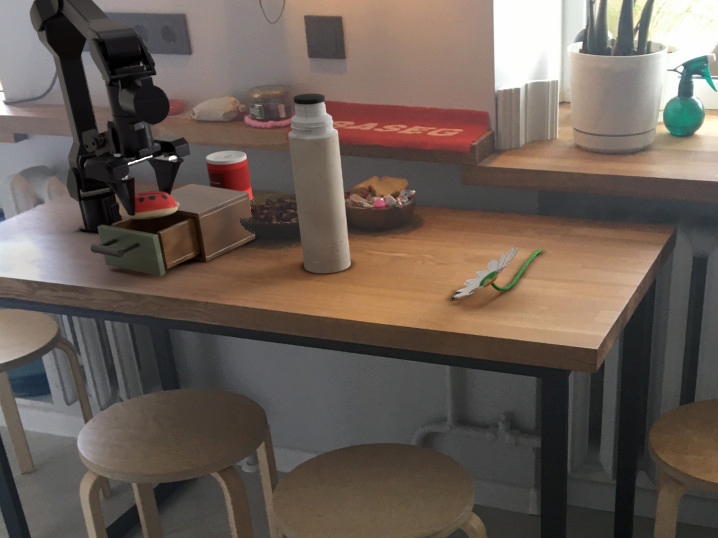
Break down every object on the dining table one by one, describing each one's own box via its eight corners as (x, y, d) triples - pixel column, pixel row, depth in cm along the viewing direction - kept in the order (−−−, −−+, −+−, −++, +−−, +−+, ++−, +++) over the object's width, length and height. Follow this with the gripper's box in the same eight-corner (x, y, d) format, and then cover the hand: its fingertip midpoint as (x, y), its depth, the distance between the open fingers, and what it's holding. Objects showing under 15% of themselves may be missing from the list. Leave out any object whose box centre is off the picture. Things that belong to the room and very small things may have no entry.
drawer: (138, 286, 166) (129, 246, 162) (83, 275, 171) (73, 235, 167) (210, 253, 179) (203, 215, 175) (157, 243, 184) (149, 206, 180)
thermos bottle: (317, 255, 180) (298, 88, 164) (358, 260, 177) (342, 91, 162) (296, 270, 173) (274, 99, 158) (337, 275, 171) (319, 101, 156)
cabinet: (206, 261, 178) (198, 213, 173) (148, 250, 183) (138, 203, 178) (255, 238, 188) (248, 192, 183) (198, 228, 193) (190, 183, 188)
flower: (562, 219, 176) (498, 255, 151) (576, 247, 177) (515, 288, 152) (501, 253, 182) (430, 293, 157) (515, 280, 183) (448, 324, 158)
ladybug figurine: (120, 211, 174) (116, 191, 172) (179, 206, 176) (175, 185, 175) (120, 223, 169) (115, 202, 167) (181, 217, 171) (177, 196, 169)
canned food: (259, 206, 205) (251, 150, 199) (247, 218, 198) (238, 161, 192) (222, 205, 205) (213, 150, 199) (209, 217, 199) (199, 160, 193)
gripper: (133, 97, 174) (151, 188, 182) (48, 120, 160) (72, 218, 168) (184, 103, 169) (199, 196, 178) (101, 127, 155) (122, 227, 164)
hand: (149, 208), depth 172 cm, fingers closed on ladybug figurine, 8 cm apart
